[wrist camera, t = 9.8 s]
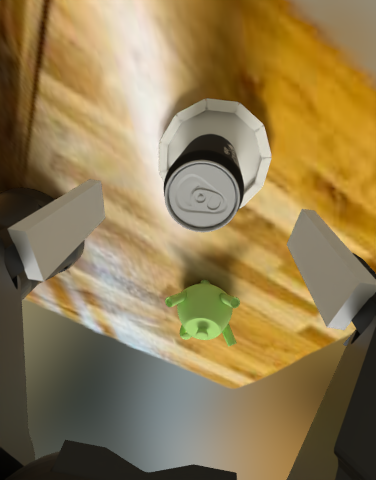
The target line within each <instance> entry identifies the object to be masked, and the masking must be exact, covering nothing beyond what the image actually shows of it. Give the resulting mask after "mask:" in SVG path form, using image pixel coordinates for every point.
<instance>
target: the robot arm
mask: <svg viewBox="0 0 376 480" xmlns="http://www.w3.org/2000/svg"><path fill="white" fill-rule="evenodd" d="M104 219H105V210H104V202H103V194H102V186H101V181H99V180H92V179H89V180H87V181H86V182H84V183H82V184H81V185H79V186H77V187H76V188H74V189H72V190H71V191H69V192H67V193H66V194H64V195H63V196H61V197H59V198H58V199H56V200H54V199H53V198H51V197H50V196H48V195H46V194H44V193H42V192H39V191H36V190H33V189H28V188H14V189H10V190H7V191H5V192H3V193H0V480H237V475H236V473H235V472H230V471H224V470H219V469H214V468H209V467H204V466H199V465H188V466H183V467H178V468H173V469H166V470H161V471H156V472H149V473H148V472H144V471H142V470H140V469H139V468H137V467H135V466H134V465H132V464H131V463H129V462H127V461H126V460H124V459H123V458H121V457H120V456H118V455H117V454H115V453H114V452H112V451H110V450H109V449H107V448H105V447H100V446H95V445H89V444H84V443H79V442H74V441H68V440H65V442H64V444H63V446H62V448H61V450H60V451H59V452H55V453H52V454H49V455H46V456H43V457H41V458H39V459H37V460H35V452H34V448H33V443H32V441H31V437H30V434H29V428H28V413H27V394H26V376H25V356H24V338H23V319H22V300H23V299H24V298H25V297H26V296H27V295H28V294H29V293H30V292H31V291H32V290H33V289H34V288H35V287H36V286H37V285H38V284H39V283H41V282H43V281H45V280H47V279H49V278H51V277H53V276H55V275H56V274H58V273H60V272H63V271H65V270H67V269H68V268H70V267H71V266H72V265H73V264H74V263H75V262H76V261H77V260H78V259H79V258H80V256H81V255H82V253H83V249H84V239H85V238H86V237H87V236H88V235H89V234H90V233H91V232H92V231H93V230H94V229H95V228H96V227H97V226H98V225H99V224H100V223H101V222H102V221H103V220H104ZM287 246H288V248H289V250H290V252H291V254H292V256H293V258H294V261H295V263H296V265H297V267H298V269H299V271H300V273H301V275H302V277H303V279H304V281H305V283H306V285H307V287H308V289H309V291H310V294H311V296H312V298H313V300H314V302H315V304H316V306H317V308H318V310H319V312H320V314H321V316H322V318H323V320H324V322H325V324H326V326H327V327H329V328H335V329H341V330H345V329H346V327H347V326H348V325H349V324H350V322H351V321H352V322H353V324H354V325H355V327H356V330H355V331H354V332H353V334H352V335H351V336H350V337H349V338H348V339H347V340H346V341H345V343H344V345H345V346H347V347H346V349H345V351H344V353H343V355H342V357H341V360H340V362H339V364H338V366H337V369H336V371H335V373H334V375H333V378H332V380H331V382H330V384H329V387H328V389H327V391H326V393H325V396H324V398H323V400H322V402H321V405H320V407H319V409H318V411H317V413H316V416H315V418H314V420H313V422H312V424H311V427H310V429H309V431H308V433H307V436H306V438H305V440H304V442H303V445H302V447H301V449H300V451H299V454H298V456H297V458H296V460H295V462H294V465H293V467H292V469H291V471H290V474H289V476H288V478H287V480H376V274H375V272H374V271H373V270H372V269H371V268H370V266H369V265H368V264H367V263H366V262H365V261H364V260H363V259H361V258H360V257H359V256H357V255H356V254H354V253H352V252H351V251H350V250H349V249H348V248H347V247H346V246H345V245H344V243H343V242H342V241H341V240H340V239H339V238H338V237H337V236H336V234H335V233H334V232H333V231H332V230H331V229H330V228H329V227H328V225H327V224H326V223H325V222H324V221H323V220H322V219H321V218H320V216H319V215H318V214H317V213H316V212H315V211H313V210H306V209H302V210H301V213H300V215H299V217H298V220H297V222H296V224H295V227H294V229H293V231H292V233H291V236H290V238H289V240H288V243H287Z"/></svg>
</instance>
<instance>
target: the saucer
mask: <svg viewBox="0 0 376 480" xmlns="http://www.w3.org/2000/svg"><path fill="white" fill-rule="evenodd" d="M205 134H216V135H219V136H222V137H224V138H225V139H227V140H228V141H229V142H230V143H231V144H232V146H233V147H234V149H235V151H236V154H237V158H238V162H239V166H240V170H241V173H242V177H243V181H244V197H243V201H242V203H241V206H240V207H239V208H242V206H244V205H245V204H246V203H247V202H248V201H249V200H250V199H251V198H252V197H253V196H254V195H255V194H256V193H257V192H258V191H259V190H260V189H261V188H262V186H263V184H264V181H265V178H266V174H267V171H268V168H269V165H270V161H271V152H270V148H269V143H268V139H267V135H266V131H265V127H264V126H263V124H262V123H261V122H260V121H259V120H258V119H257V118H256V117H255V116H254V115H253V114H252V113H251V112H249V111H248V110H247V109H246V108H245V107H244V106H243V105H242V104H241V103H239V104H238V102H234V101H225V100H217V99H209V98H207V99H203V100H201V101H199V102H197V103H195V104H194V105H192V106H190V107H188V108H186V109H184V110H182V111H180V112H178V113H177V114H176V115H175V116H174V118H173V119H172V121H171V123H170V125H169V126H168V128H167V130H166V131H165V133H164V135H163V136H162V138H161V140H160V143H159V171H160V172H159V174H160V176H161V178H162V180H163V182H164V181H165V177H166V174H167V172H168V170H169V168H170V167H171V165H172V164H173V163H174V162H175V160H176V159H177V158H178V157H179V156H180V154H181V153H182V152H183V151H184V150H185V148H186V147H187V146H188V145H189V143H190V142H191V141H193V140H194V139H195V138H197V137H199V136H201V135H205Z"/></svg>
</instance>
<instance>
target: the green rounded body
mask: <svg viewBox="0 0 376 480" xmlns="http://www.w3.org/2000/svg"><path fill="white" fill-rule="evenodd" d="M165 303H166V305H167V306H168V307H172V306H174V305H176V304H177V309H178V315H179V318H180V321H181V323H182V326H181V329H180V336H181V338H183V339H189V338H191V337H194V338H197V339H201V340H210V339H213V338H216V337H217V336H218V335H219V334H221V332H222V333H223V336H224V338H225V340H226V342H227V345H228V346H231V345H233V344H236V343H237V342H236V340H235V338H234V335H233V333H232V331H231V328H230V326H229V324H228V323H229V321H230V318H231V315H232V309H233V308H237V307H238V306H239V304H240V301H239V299H238V298H236V297H233V296H230V295H228V294H227V293H226V292H224V291H223V290H222V289H220V288H219V287H217V286H214V285H211V284H210V283H209V281H207V280H202V281H201V282H200V284H195V285H192V286H190V287H188V288H186V289H185V290H184V291H183V292H181V293H178V294H175V295H172V296H170V297H167V298H166V299H165ZM186 332H187V333H186ZM185 333H186V334H185Z"/></svg>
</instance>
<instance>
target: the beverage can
mask: <svg viewBox="0 0 376 480" xmlns="http://www.w3.org/2000/svg"><path fill="white" fill-rule="evenodd" d="M164 196H165V203H166V207H167V209H168V211H169V213H170V215H171V216H172V218H173V219H174V220H175V221H176V222H177V223H178V224H180V225H181V226H183V227H184V228H186V229H189V230H192V231H196V232H210V231H214V230H217V229H219V228H221V227H223V226H225V225H226V224H227V223H228V222H229V221H230V220H231V219H232V218H233V217H234V215H235V214H236V212H237V211H238V209H239V207H240V206H241V203H242V201H243V197H244V181H243V177H242V173H241V170H240V166H239V162H238V158H237V154H236V151H235V149H234V147H233V146H232V144H231V143H230V142H229V141H228V140H227V139H225V138H224V137H222V136H219V135H216V134H205V135H201V136H199V137H197V138H195V139H194V140H193V141H191V142H190V143H189V145H188V146H187V147H186V148H185V150H184V151H183V152H182V153H181V154H180V156H179V157H178V158H177V159H176V160H175V162H174V163H173V164H172V165H171V167H170V168H169V170H168V172H167V174H166V177H165V181H164Z"/></svg>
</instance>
